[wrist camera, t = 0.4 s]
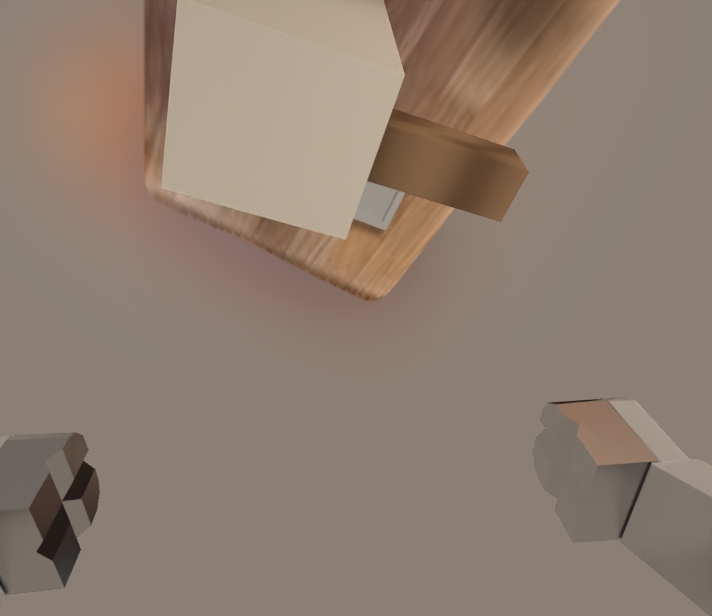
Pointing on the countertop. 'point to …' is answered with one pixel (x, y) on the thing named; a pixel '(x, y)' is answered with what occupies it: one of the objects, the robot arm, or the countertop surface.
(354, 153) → the tall cream pillar
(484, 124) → the countertop surface
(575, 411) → the robot arm
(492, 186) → the walnut bar
